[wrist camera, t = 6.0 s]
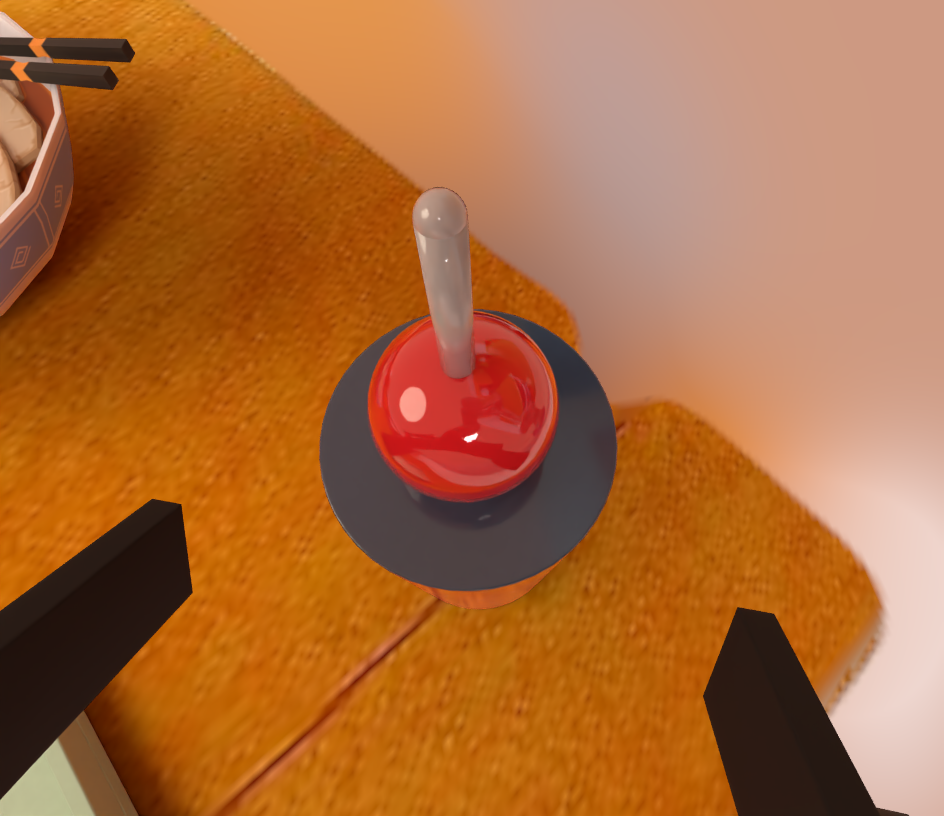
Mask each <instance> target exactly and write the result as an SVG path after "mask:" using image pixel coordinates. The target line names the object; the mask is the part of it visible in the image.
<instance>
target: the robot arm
mask: <svg viewBox="0 0 944 816" xmlns="http://www.w3.org/2000/svg"><path fill="white" fill-rule="evenodd" d="M192 593H193V591H192V584H191V576H190V568H189V560H188V553H187V545H186V537H185V530H184V522H183V514H182V506H181V504H177V503H172V502H166V501H161V500H155V499H151V500H150V501H149V502H147V503H146V504H145V505H143V506H142V507H141V508H139V509H138V510H137V511H135V512H134V513H132V514H131V515H130V516H128V517H127V518H126V519H124V520H123V521H122V522H120V523H119V524H118V525H116V526H115V527H113V528H112V529H111V530H109V531H108V532H107V533H105V534H104V535H103V536H101V537H100V538H99V539H97V540H96V541H95V542H93V543H92V544H90V545H89V546H88V547H86V548H85V549H84V550H82V551H81V552H80V553H78V554H77V555H76V556H74V557H73V558H71V559H70V560H69V561H67V562H66V563H65V564H63V565H62V566H61V567H59V568H58V569H57V570H55V571H54V572H53V573H51V574H50V575H48V576H47V577H46V578H44V579H43V580H42V581H40V582H39V583H38V584H36V585H35V586H34V587H32V588H31V589H29V590H28V591H27V592H25V593H24V594H23V595H21V596H20V597H19V598H17V599H16V600H15V601H13V602H12V603H10V604H9V605H8V606H6V607H5V608H4V609H2V610H1V611H0V800H1V799H2V798H3V796H4V795H5V794H6V793H7V792H8V791H9V790H10V789H11V788H12V787H13V786H14V785H15V784H16V782H17V781H18V780H19V779H20V778H21V777H22V776H23V775H24V774H25V773H26V772H27V771H28V770H29V768H30V767H31V766H32V765H33V764H34V763H35V762H36V761H37V760H38V759H39V758H40V757H41V756H42V754H43V753H44V752H45V751H46V750H47V749H48V748H49V747H50V746H51V745H52V744H53V743H54V742H55V740H56V739H57V738H58V737H59V736H60V735H61V734H62V733H63V732H64V731H65V730H66V729H67V728H68V726H69V725H70V724H71V723H72V722H73V721H74V720H75V719H76V718H77V717H78V716H79V715H80V714H81V712H82V711H83V710H84V709H85V708H86V707H87V706H88V705H89V704H90V703H91V702H92V701H93V700H94V698H95V697H96V696H97V695H98V694H99V693H100V692H101V691H102V690H103V689H104V688H105V687H106V686H107V684H108V683H109V682H110V681H111V680H112V679H113V678H114V677H115V676H116V675H117V674H118V673H119V671H120V670H121V669H122V668H123V667H124V666H125V665H126V664H127V663H128V662H129V661H130V660H131V659H132V657H133V656H134V655H135V654H136V653H137V652H138V651H139V650H140V649H141V648H142V647H143V646H144V645H145V643H146V642H147V641H148V640H149V639H150V638H151V637H152V636H153V635H154V634H155V633H156V632H157V631H158V629H159V628H160V627H161V626H162V625H163V624H164V623H165V622H166V621H167V620H168V619H169V618H170V617H171V615H172V614H173V613H174V612H175V611H176V610H177V609H178V608H179V607H180V606H181V605H182V604H183V603H184V601H185V600H186V599H187V598H188V597H189V596H190V595H191V594H192ZM703 698H704V701H705V704H706V708H707V711H708V714H709V718H710V721H711V725H712V728H713V731H714V735H715V738H716V742H717V745H718V748H719V752H720V755H721V758H722V762H723V765H724V769H725V772H726V775H727V779H728V782H729V785H730V789H731V792H732V796H733V799H734V802H735V806H736V809H737V812H738V816H909V815H907V814H904V813H899V812H894V811H890V810H885V809H880V808H876V807H875V805H874V803H873V801H872V799H871V797H870V795H869V793H868V791H867V790H866V787H865V786H864V784H863V782H862V780H861V778H860V776H859V774H858V773H857V770H856V768H855V767H854V765H853V763H852V761H851V759H850V757H849V755H848V753H847V752H846V750H845V748H844V746H843V744H842V742H841V740H840V738H839V736H838V734H837V733H836V731H835V729H834V727H833V725H832V723H831V721H830V719H829V717H828V715H827V713H826V712H825V710H824V708H823V706H822V704H821V702H820V700H819V698H818V696H817V694H816V693H815V691H814V689H813V687H812V685H811V683H810V681H809V679H808V677H807V675H806V674H805V672H804V670H803V668H802V666H801V664H800V662H799V660H798V658H797V656H796V655H795V653H794V651H793V649H792V647H791V645H790V643H789V641H788V639H787V637H786V636H785V634H784V632H783V630H782V628H781V626H780V624H779V622H778V620H777V618H776V617H775V615H774V614H772V613H767V612H761V611H756V610H750V609H745V608H739V607H738V608H737V610H736V613H735V615H734V618H733V620H732V623H731V626H730V628H729V631H728V633H727V636H726V638H725V641H724V644H723V646H722V649H721V651H720V654H719V656H718V659H717V661H716V664H715V667H714V669H713V672H712V674H711V677H710V679H709V682H708V685H707V687H706V690H705V692H704V695H703Z"/></svg>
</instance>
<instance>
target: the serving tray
mask: <svg viewBox="0 0 944 816" xmlns="http://www.w3.org/2000/svg"><path fill="white" fill-rule="evenodd" d="M0 816H139V815H138V813H137V811H136V810H135V808H134V806H133V804H132V802H131V800H130V798H129V796H128V794H127V792H126V790H125V788H124V787H123V785H122V783H121V781H120V779H119V777H118V775H117V773H116V771H115V769H114V767H113V765H112V763H111V762H110V760H109V758H108V756H107V754H106V752H105V750H104V748H103V746H102V744H101V742H100V740H99V739H98V737H97V735H96V733H95V731H94V729H93V727H92V725H91V723H90V721H89V719H88V717H87V715H86V714H85V712H84V710H83V711H82V712H81V714H80V715H79V716H78V717H77V718H76V719H75V720H74V721H73V722H72V723H71V724H70V725H69V726H68V728H67V729H66V730H65V731H64V732H63V733H62V734H61V735H60V736H59V737H58V738H57V739H56V740H55V742H54V743H53V744H52V745H51V746H50V747H49V748H48V749H47V750H46V751H45V752H44V753H43V754H42V756H41V757H40V758H39V759H38V760H37V761H36V762H35V763H34V764H33V765H32V766H31V767H30V768H29V770H28V771H27V772H26V773H25V774H24V775H23V776H22V777H21V778H20V779H19V780H18V781H17V782H16V784H15V785H14V786H13V787H12V788H11V789H10V790H9V791H8V792H7V793H6V794H5V795H4V796H3V798H2V799H1V800H0Z"/></svg>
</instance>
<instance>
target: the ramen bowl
mask: <svg viewBox="0 0 944 816" xmlns="http://www.w3.org/2000/svg"><path fill="white" fill-rule="evenodd" d="M134 55H135V52H134V51H133V49H132V47H131V46H130V44H129V43H128V41H127V39H92V38H44V39H37V38H34V37H32V36H31V35H30V34H29V33H28V32H26V31H25V30H24V29H23V28H22V27H20V26H19V25H18V24H17V23H16V22H14V21H13V20H12V19H11V18H10V17H8V16H7V15H6V14H5V13H3V12H0V316H2V315H3V314H4V313H5V312H6V311H7V310H8V309H9V307H10V306H11V305H12V304H13V303H14V302H15V300H16V299H17V298H18V297H19V296H20V295H21V293H22V292H23V291H24V290H25V289H26V287H27V286H28V285H29V284H30V283H31V282H32V280H33V279H34V278H35V277H36V276H37V274H38V273H39V272H40V271H41V270H42V269H43V267H44V266H45V265H46V264H47V263H48V262H49V260H50V259H51V258H52V257H53V254H54V251H55V248H56V245H57V242H58V240H59V237H60V234H61V231H62V228H63V225H64V222H65V219H66V216H67V213H68V210H69V207H70V205H71V201H72V192H73V184H74V172H73V160H72V149H71V143H70V137H69V132H68V126H67V121H66V115H65V110H64V105H63V99H62V94H61V89H60V85H66V86H77V87H87V88H98V89H108V90H113V89H114V87H115V86H116V84H117V82H118V81H119V80H118V78H117V77H116V76H115V74H114V73H113V71H112V70H111V68H110V67H109V66H97V65H79V64H61V63H53V60H52V58H55V59H74V60H93V61H112V62H131V60H132V58H133V56H134Z"/></svg>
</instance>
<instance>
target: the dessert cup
mask: <svg viewBox="0 0 944 816" xmlns="http://www.w3.org/2000/svg"><path fill="white" fill-rule="evenodd" d="M412 221H413V227H414V232H415V237H416V242H417V247H418V253H419V258H420V263H421V268H422V273H423V278H424V284H425V289H426V294H427V299H428V304H429V310H430V314H429V315H426V316H423V317H420V318H417V319H414V320H411V321H409V322H407V323H405V324H403V325H401V326H398V327H396V328H395V329H393V330H391V331H390V332H388V333H387V334H385V335H383V336H382V337H380V338H379V339H378V340H376V341H375V342H374V343H373V344H371V345H370V346H369V347H368V348H367V349H366V350H365V351H364V352H363V353H362V354H361V355H360V356H359V357H358V358H357V359H356V360H355V361H354V362H353V363H352V365H351V366H350V367H349V368H348V370H347V371H346V372H345V373H344V375H343V377H342V378H341V380H340V382H339V383H338V385H337V387H336V388H335V390H334V392H333V395H332V397H331V399H330V401H329V404H328V406H327V410H326V413H325V416H324V420H323V423H322V430H321V436H320V456H319V460H320V468H321V476H322V481H323V485H324V488H325V492H326V496H327V498H328V501H329V503H330V505H331V508H332V510H333V512H334V514H335V516H336V518H337V519H338V521H339V523H340V524H341V526H342V528H343V529H344V531H345V532H346V533H347V534H348V536H349V537H350V538H351V539H352V541H353V542H354V543H355V544H356V545H357V546H358V547H359V548H360V549H361V550H362V551H363V552H364V553H365V554H366V555H367V556H369V557H370V558H371V559H372V560H373V561H375V562H376V563H378V564H379V565H381V566H382V567H384V568H385V569H387V570H388V571H390V572H391V573H393V574H395V575H397V576H399V577H400V578H402V579H404V580H406V581H408V582H409V583H411V584H413V585H415V586H417V587H418V588H420V589H422V590H424V591H426V592H427V593H429V594H431V595H433V596H434V597H436V598H438V599H440V600H442V601H444V602H446V603H448V604H451V605H454V606H458V607H462V608H468V609H489V608H495V607H499V606H503V605H505V604H508V603H510V602H513V601H515V600H516V599H518V598H520V597H522V596H523V595H525V594H526V593H527V592H528V591H530V590H531V589H532V588H533V587H534V586H535V585H536V584H537V583H539V582H540V581H541V580H542V579H543V578H544V577H545V576H546V575H547V574H548V573H549V572H550V571H551V570H552V569H553V568H554V567H555V566H556V565H557V564H558V563H559V562H560V561H561V560H563V559H564V558H565V557H566V556H567V555H568V554H569V553H570V552H571V551H572V550H573V549H574V548H575V547H576V546H577V545H578V544H579V542H580V541H581V540H582V539H583V538H584V537H585V536H586V535H587V533H588V532H589V530H590V529H591V528H592V526H593V525H594V524H595V522H596V521H597V519H598V517H599V515H600V513H601V511H602V509H603V507H604V506H605V504H606V501H607V498H608V496H609V493H610V490H611V487H612V484H613V479H614V474H615V469H616V461H617V436H616V427H615V422H614V418H613V413H612V409H611V407H610V404H609V401H608V399H607V396H606V393H605V391H604V390H603V388H602V386H601V384H600V382H599V381H598V378H597V377H596V375H595V374H594V372H593V371H592V370H591V368H590V367H589V365H588V364H587V363H586V362H585V360H584V359H583V358H582V357H581V356H580V355H579V354H578V353H577V352H576V351H575V350H574V349H573V348H572V347H571V346H570V345H568V344H567V343H566V342H565V341H564V340H562V339H561V338H560V337H558V336H557V335H555V334H554V333H552V332H551V331H549V330H547V329H546V328H544V327H542V326H540V325H538V324H536V323H534V322H532V321H529V320H526V319H524V318H521V317H518V316H515V315H511V314H507V313H503V312H499V311H491V310H483V309H473V299H472V282H471V264H470V246H469V229H468V214H467V209H466V206H465V204H464V202H463V200H462V199H461V198H460V197H459V196H458V194H456V193H455V192H454V191H452V190H449V189H447V188H442V187H436V188H432V189H429V190H427V191H425V192H424V193H423V194H421V195H420V196H419V198H418V199H417V201H416V202H415V204H414V208H413V212H412Z"/></svg>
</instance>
